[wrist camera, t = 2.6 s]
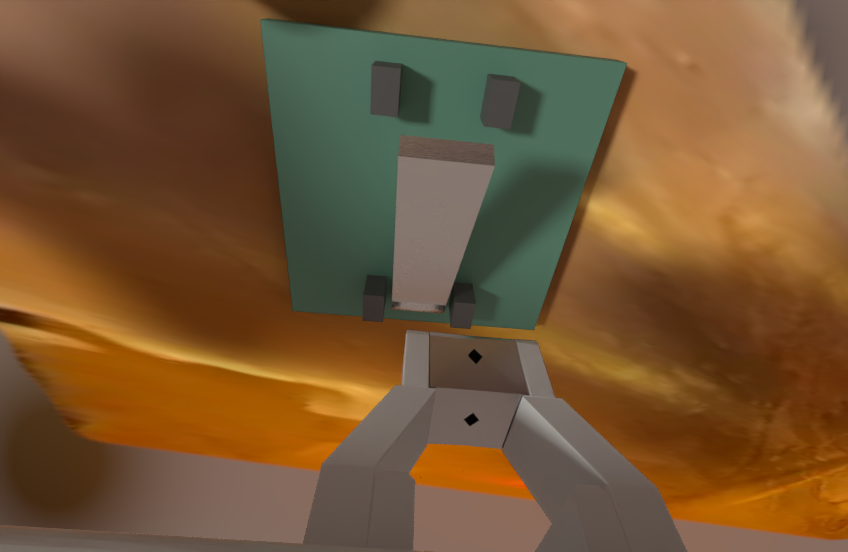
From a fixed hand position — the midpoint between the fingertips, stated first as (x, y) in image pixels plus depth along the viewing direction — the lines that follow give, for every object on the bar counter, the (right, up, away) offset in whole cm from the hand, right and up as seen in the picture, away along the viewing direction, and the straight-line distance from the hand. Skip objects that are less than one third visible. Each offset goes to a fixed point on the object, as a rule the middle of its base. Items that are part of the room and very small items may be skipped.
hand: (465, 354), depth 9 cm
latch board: (-1, +7, +19) cm, 20 cm away
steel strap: (-1, +4, +15) cm, 16 cm away
